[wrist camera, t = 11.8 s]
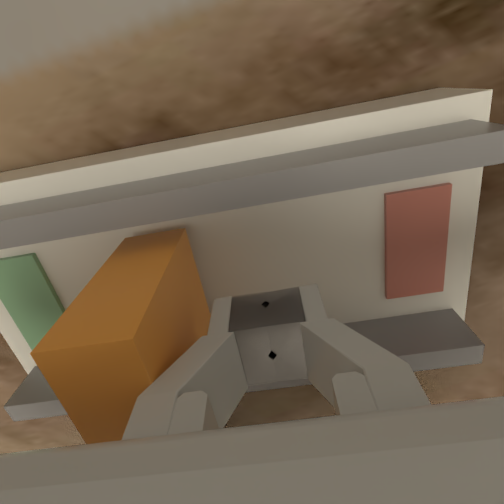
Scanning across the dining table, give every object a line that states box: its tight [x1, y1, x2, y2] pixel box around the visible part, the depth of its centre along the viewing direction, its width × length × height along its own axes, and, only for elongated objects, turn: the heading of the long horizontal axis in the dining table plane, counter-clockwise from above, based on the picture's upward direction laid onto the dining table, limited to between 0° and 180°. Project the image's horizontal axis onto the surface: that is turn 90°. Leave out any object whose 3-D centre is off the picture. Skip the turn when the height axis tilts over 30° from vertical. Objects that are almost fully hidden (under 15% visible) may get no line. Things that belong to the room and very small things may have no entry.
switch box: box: [0, 88, 504, 421], centre depth 15 cm, size 18×21×5 cm
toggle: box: [30, 228, 211, 444], centre depth 9 cm, size 2×4×5 cm, turn 10°
